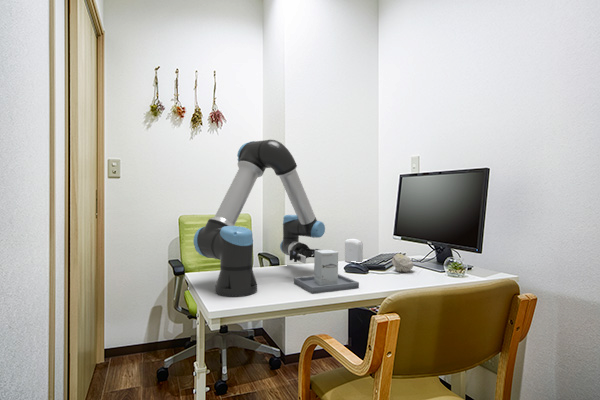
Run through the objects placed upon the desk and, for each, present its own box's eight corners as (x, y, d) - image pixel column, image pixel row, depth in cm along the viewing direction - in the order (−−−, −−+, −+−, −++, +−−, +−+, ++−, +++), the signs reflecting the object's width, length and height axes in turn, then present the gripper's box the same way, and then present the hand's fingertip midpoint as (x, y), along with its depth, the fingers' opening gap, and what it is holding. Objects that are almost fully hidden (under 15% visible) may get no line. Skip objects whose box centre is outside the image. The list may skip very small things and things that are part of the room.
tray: (312, 293, 136) (312, 287, 136) (294, 283, 150) (294, 278, 150) (358, 288, 144) (358, 282, 144) (337, 278, 159) (337, 273, 159)
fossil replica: (409, 268, 182) (388, 270, 181) (407, 251, 182) (387, 253, 182) (418, 272, 170) (396, 274, 169) (416, 253, 170) (394, 255, 170)
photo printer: (343, 261, 198) (343, 238, 197) (349, 260, 200) (349, 237, 200) (358, 264, 190) (358, 240, 189) (363, 263, 192) (364, 239, 192)
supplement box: (320, 286, 143) (320, 252, 142) (313, 281, 150) (314, 249, 149) (338, 284, 145) (338, 252, 145) (330, 280, 152) (331, 249, 152)
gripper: (323, 257, 177) (346, 265, 157) (273, 260, 167) (291, 270, 147) (323, 241, 177) (347, 247, 157) (273, 244, 166) (291, 251, 147)
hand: (320, 258), depth 152 cm, fingers open, 13 cm apart
